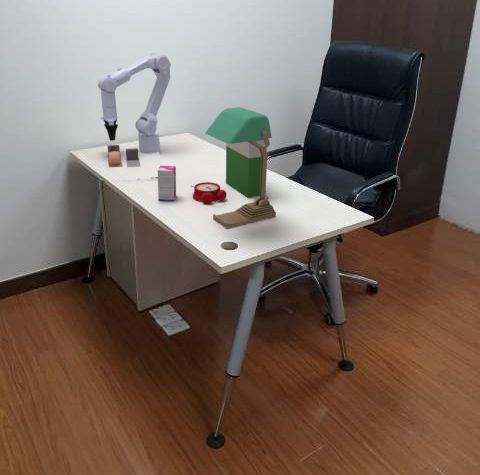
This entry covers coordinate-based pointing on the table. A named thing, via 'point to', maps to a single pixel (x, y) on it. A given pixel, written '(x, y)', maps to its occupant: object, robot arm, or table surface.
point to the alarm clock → (208, 192)
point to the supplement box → (166, 183)
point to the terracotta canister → (114, 158)
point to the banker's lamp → (256, 128)
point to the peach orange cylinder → (114, 148)
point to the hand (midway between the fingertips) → (112, 138)
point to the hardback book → (244, 167)
